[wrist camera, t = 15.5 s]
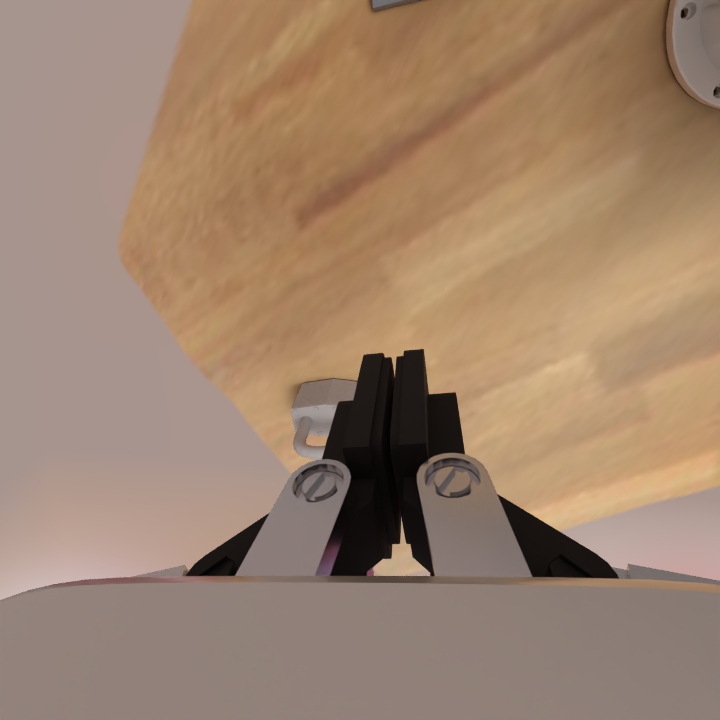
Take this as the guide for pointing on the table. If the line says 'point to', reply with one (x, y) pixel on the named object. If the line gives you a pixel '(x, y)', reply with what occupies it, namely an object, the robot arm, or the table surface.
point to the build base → (388, 3)
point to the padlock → (317, 411)
